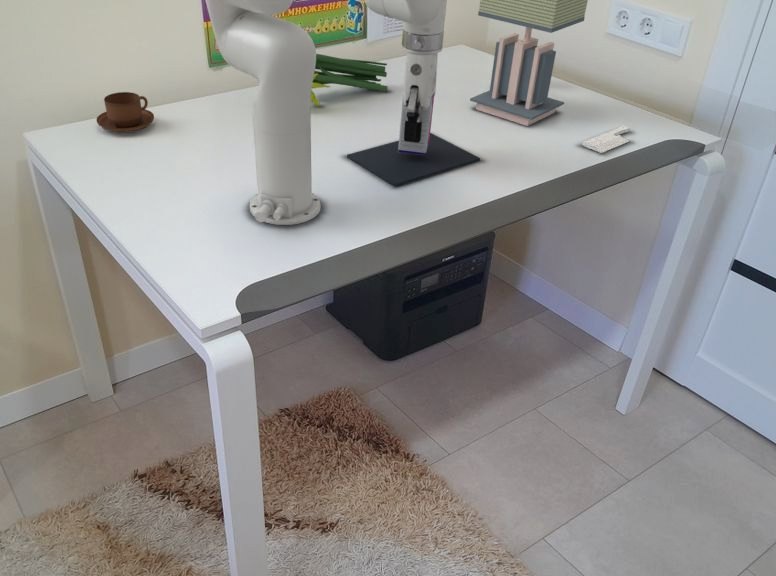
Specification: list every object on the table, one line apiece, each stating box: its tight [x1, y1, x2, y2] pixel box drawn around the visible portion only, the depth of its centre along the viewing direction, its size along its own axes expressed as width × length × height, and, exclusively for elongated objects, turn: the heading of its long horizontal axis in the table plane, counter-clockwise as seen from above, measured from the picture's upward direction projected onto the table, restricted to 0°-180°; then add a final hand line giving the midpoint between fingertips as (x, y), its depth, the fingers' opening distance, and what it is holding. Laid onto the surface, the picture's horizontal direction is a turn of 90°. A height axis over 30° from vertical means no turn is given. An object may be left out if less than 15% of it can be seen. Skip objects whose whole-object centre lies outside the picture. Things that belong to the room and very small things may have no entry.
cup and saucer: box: [96, 91, 155, 133], centre depth 155 cm, size 12×12×6 cm
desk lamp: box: [469, 0, 589, 127], centre depth 160 cm, size 18×14×33 cm
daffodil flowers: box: [282, 16, 388, 107], centre depth 169 cm, size 17×15×35 cm
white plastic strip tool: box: [581, 125, 630, 154], centre depth 157 cm, size 5×15×1 cm, turn 130°
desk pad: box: [346, 132, 481, 188], centre depth 147 cm, size 22×16×1 cm
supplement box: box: [398, 92, 436, 155], centre depth 142 cm, size 6×6×12 cm
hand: (415, 134), depth 144 cm, fingers closed on supplement box, 5 cm apart
